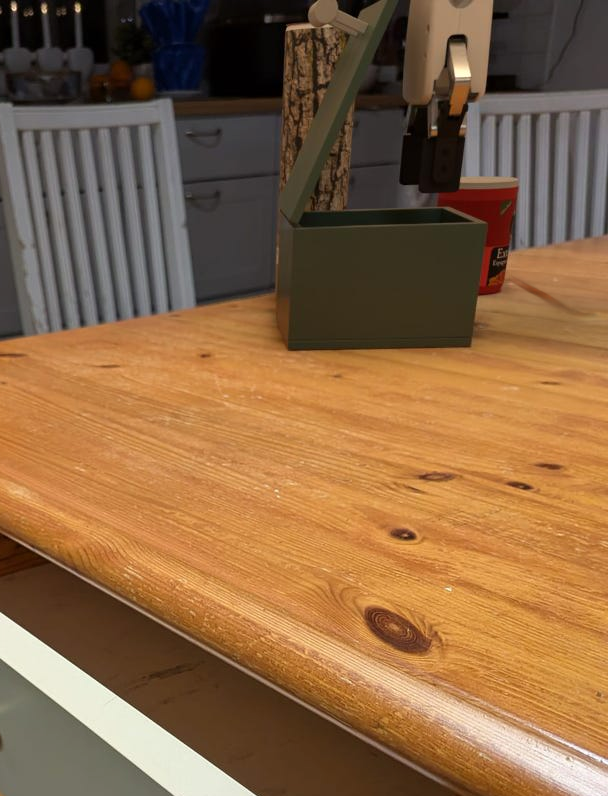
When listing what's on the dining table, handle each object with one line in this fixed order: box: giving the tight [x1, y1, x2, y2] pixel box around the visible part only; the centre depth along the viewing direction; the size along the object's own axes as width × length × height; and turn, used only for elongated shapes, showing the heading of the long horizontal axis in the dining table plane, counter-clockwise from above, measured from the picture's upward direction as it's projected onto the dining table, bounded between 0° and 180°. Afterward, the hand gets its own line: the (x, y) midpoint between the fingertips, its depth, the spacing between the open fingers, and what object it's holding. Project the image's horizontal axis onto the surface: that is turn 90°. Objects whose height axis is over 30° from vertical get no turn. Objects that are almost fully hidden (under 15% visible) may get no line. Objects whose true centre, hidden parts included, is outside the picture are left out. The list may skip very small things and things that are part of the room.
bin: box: [275, 206, 488, 351], centre depth 86 cm, size 16×14×10 cm
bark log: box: [274, 21, 356, 303], centre depth 95 cm, size 7×7×25 cm
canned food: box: [436, 175, 520, 296], centre depth 103 cm, size 8×8×11 cm
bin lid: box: [276, 0, 399, 224], centre depth 80 cm, size 16×14×5 cm
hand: (427, 187), depth 82 cm, fingers open, 7 cm apart
